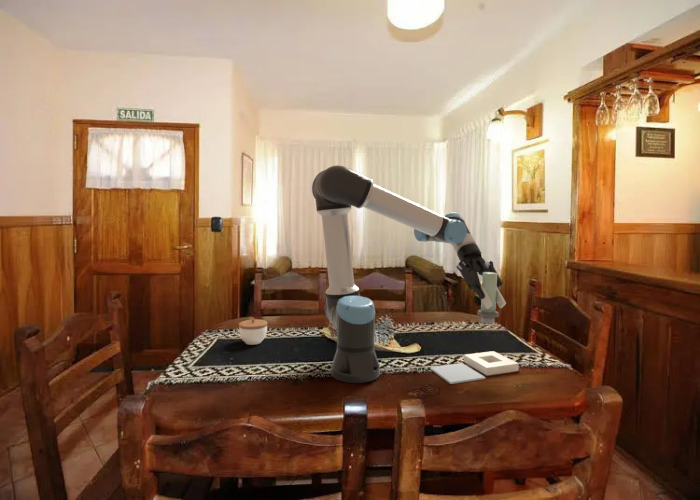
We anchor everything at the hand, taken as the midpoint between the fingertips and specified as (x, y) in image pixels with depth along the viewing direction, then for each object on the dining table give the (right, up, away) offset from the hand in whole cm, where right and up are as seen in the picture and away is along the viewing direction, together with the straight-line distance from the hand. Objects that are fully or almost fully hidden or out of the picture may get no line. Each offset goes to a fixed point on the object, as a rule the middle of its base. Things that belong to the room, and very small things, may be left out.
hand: (496, 306), depth 121 cm
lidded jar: (-83, -19, +30) cm, 91 cm away
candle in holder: (-1, -6, +4) cm, 7 cm away
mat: (-12, -21, 0) cm, 25 cm away
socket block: (0, -21, +6) cm, 22 cm away
